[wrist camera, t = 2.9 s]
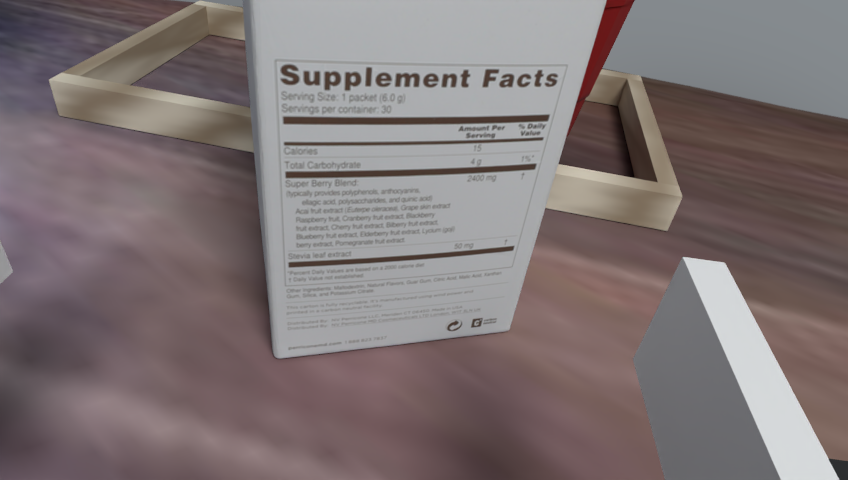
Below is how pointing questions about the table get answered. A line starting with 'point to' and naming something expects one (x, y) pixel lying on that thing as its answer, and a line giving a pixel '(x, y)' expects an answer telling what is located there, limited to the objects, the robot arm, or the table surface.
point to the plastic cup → (602, 47)
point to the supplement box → (406, 160)
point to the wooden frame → (231, 124)
